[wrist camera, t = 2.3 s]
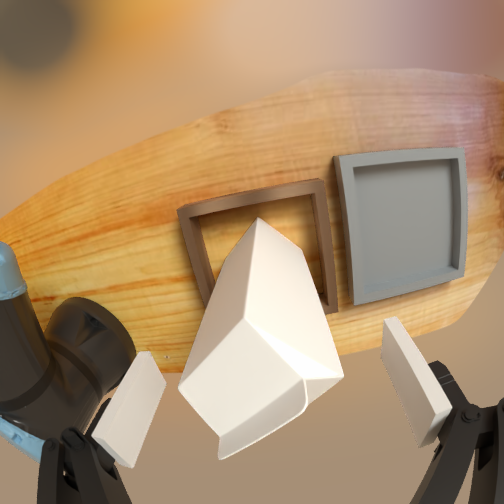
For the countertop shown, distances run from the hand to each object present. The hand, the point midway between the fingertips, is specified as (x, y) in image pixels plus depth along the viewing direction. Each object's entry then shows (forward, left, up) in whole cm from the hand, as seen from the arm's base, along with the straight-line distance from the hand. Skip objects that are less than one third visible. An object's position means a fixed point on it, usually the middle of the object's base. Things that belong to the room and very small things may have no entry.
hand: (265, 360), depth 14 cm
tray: (+17, +1, -17) cm, 24 cm away
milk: (0, 0, -17) cm, 17 cm away
